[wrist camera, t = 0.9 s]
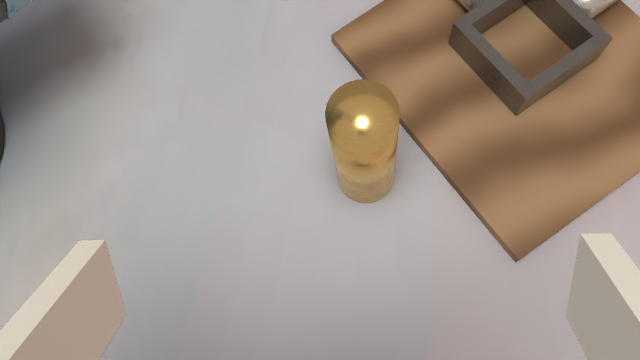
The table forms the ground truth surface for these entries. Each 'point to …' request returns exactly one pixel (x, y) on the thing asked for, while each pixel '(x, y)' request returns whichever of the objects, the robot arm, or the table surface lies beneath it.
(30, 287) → the table surface
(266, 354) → the table surface
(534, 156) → the mounting board
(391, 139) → the cylinder
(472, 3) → the socket housing
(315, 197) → the table surface
